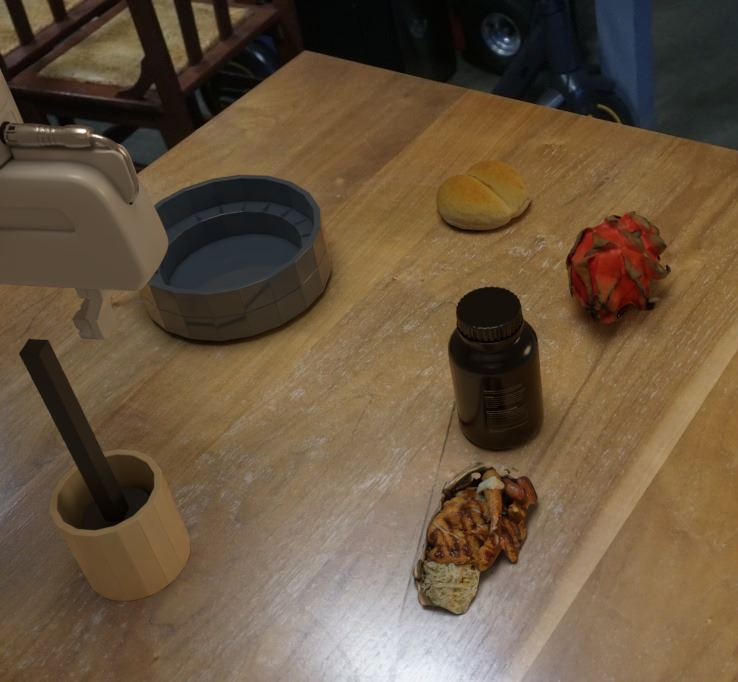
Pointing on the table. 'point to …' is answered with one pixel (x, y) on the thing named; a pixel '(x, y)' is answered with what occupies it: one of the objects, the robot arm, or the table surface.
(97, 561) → the crock
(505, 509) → the brown food piece
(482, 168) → the bread roll
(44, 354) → the long black rod
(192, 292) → the bowl
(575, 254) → the dragon fruit
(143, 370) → the table surface
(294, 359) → the table surface
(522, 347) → the supplement bottle
